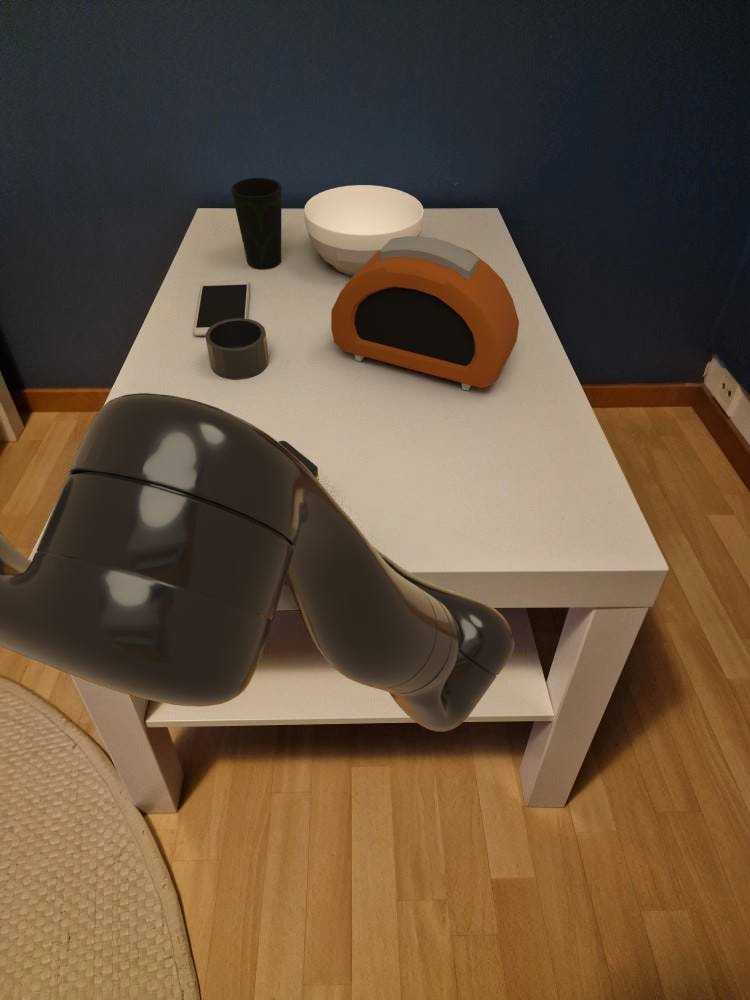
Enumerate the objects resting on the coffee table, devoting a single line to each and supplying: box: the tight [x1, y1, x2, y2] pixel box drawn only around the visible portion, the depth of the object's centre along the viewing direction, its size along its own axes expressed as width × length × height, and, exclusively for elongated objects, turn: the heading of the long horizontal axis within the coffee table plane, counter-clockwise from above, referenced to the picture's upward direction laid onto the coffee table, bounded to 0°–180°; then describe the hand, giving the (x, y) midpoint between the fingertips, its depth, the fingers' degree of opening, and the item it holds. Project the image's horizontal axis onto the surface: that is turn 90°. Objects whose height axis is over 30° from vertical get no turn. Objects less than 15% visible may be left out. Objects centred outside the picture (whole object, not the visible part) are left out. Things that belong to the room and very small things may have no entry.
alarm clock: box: [330, 235, 520, 391], centre depth 88 cm, size 23×9×17 cm, turn 66°
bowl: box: [303, 184, 425, 277], centre depth 111 cm, size 19×19×9 cm
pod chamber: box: [204, 318, 270, 380], centre depth 92 cm, size 8×8×4 cm
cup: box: [230, 177, 283, 270], centre depth 109 cm, size 8×8×12 cm
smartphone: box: [193, 279, 251, 337], centre depth 103 cm, size 8×1×15 cm
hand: (200, 460), depth 69 cm, fingers open, 8 cm apart
